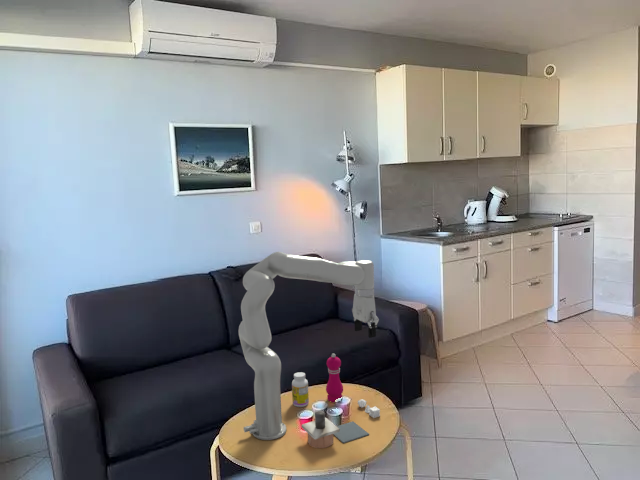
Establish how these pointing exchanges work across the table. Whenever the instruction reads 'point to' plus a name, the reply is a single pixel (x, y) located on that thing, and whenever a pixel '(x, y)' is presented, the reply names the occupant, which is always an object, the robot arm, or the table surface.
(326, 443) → the bowl
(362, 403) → the game pieces
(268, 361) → the robot arm
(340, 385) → the pepper mill
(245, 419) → the table surface
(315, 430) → the lid
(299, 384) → the supplement bottle
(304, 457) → the table surface
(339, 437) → the mat
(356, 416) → the table surface
